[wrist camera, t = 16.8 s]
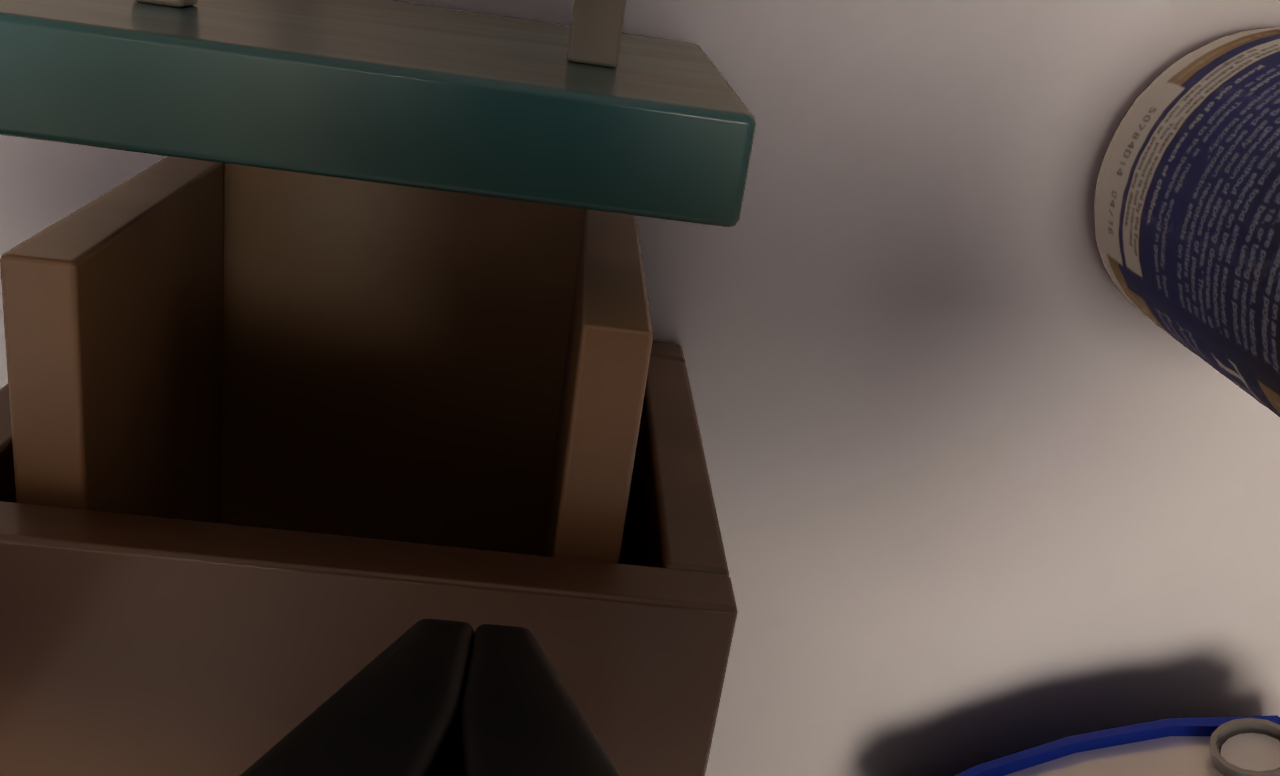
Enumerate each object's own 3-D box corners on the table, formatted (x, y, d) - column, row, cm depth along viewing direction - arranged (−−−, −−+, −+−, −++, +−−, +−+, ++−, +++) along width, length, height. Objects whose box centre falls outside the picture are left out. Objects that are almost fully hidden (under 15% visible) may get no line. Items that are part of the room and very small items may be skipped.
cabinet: (132, 278, 20) (-165, 520, 12) (683, 343, 21) (739, 609, 13) (146, 845, 25) (-63, 1286, 17) (595, 879, 26) (598, 1315, 18)
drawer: (138, -370, 16) (-159, -552, 10) (748, -269, 17) (844, -375, 10) (156, 618, 22) (-21, 908, 15) (606, 660, 22) (612, 953, 16)
